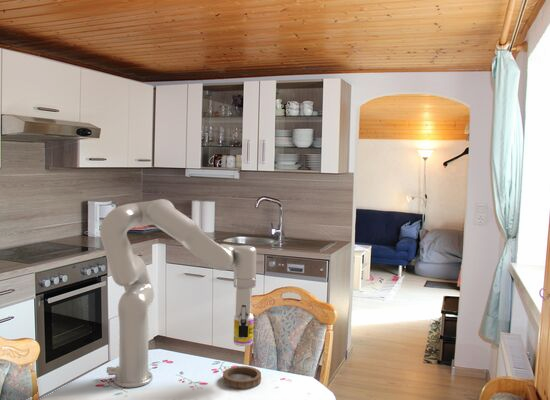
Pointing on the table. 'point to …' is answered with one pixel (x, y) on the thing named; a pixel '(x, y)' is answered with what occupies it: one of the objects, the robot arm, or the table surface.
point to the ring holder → (241, 377)
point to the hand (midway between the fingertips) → (243, 332)
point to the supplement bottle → (248, 340)
